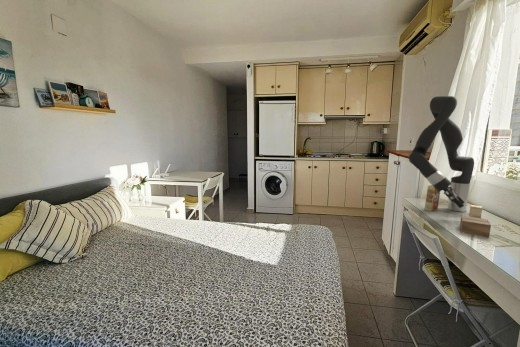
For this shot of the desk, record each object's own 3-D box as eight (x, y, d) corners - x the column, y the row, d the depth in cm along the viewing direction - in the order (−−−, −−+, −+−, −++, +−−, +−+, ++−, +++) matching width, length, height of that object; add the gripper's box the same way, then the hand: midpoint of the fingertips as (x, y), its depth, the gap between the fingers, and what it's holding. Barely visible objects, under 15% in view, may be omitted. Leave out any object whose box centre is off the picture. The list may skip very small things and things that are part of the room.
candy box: (432, 211, 151) (434, 186, 149) (424, 209, 155) (426, 185, 152) (438, 209, 156) (441, 185, 154) (430, 207, 159) (433, 184, 157)
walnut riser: (459, 226, 127) (461, 215, 126) (485, 231, 121) (487, 219, 120) (460, 232, 119) (462, 220, 118) (489, 237, 113) (491, 225, 112)
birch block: (467, 223, 131) (470, 204, 130) (479, 225, 128) (481, 206, 127) (467, 225, 128) (470, 206, 126) (479, 227, 125) (482, 208, 124)
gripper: (443, 178, 128) (469, 204, 123) (446, 175, 139) (470, 198, 133) (430, 186, 132) (454, 212, 127) (433, 183, 143) (456, 206, 138)
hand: (462, 205), depth 130 cm, fingers open, 8 cm apart
